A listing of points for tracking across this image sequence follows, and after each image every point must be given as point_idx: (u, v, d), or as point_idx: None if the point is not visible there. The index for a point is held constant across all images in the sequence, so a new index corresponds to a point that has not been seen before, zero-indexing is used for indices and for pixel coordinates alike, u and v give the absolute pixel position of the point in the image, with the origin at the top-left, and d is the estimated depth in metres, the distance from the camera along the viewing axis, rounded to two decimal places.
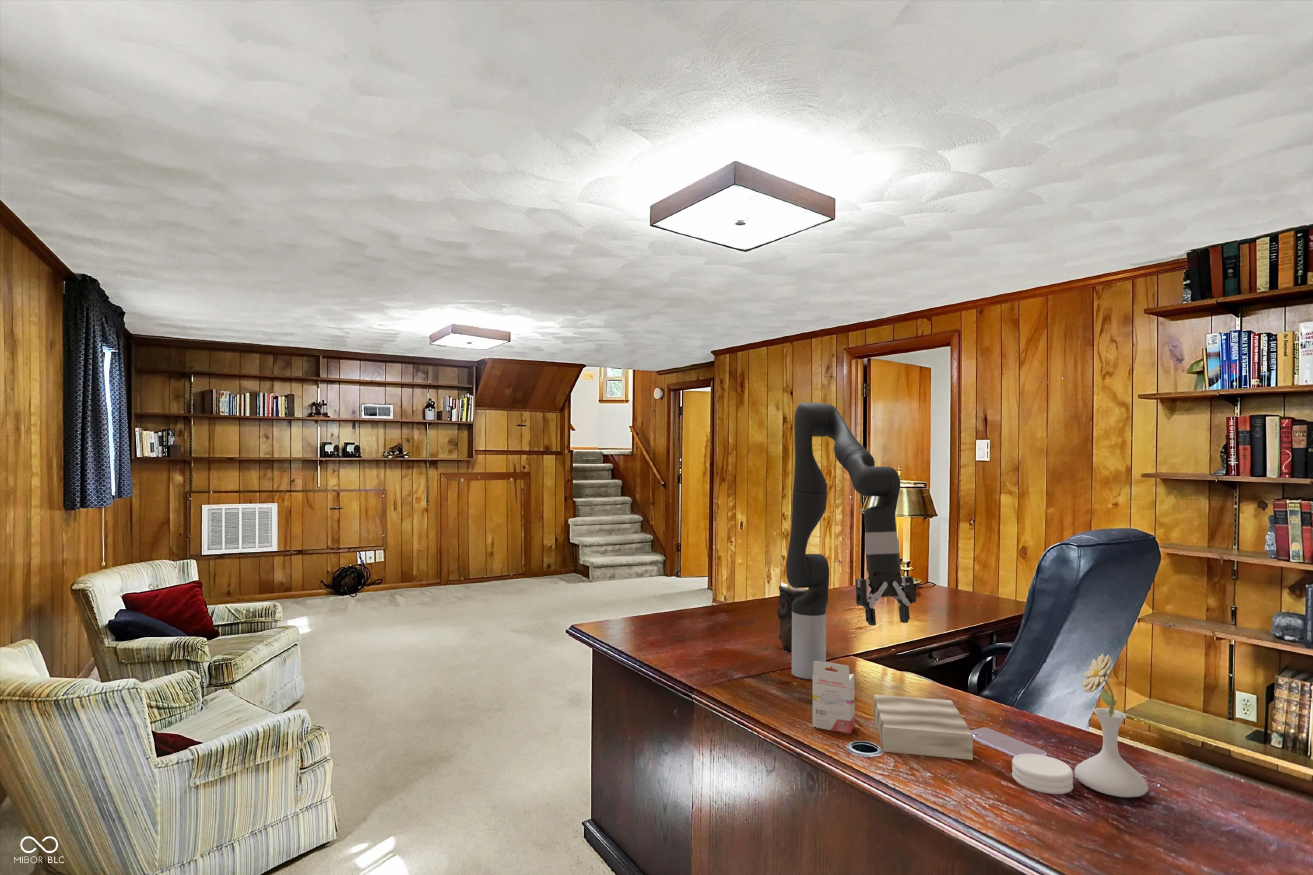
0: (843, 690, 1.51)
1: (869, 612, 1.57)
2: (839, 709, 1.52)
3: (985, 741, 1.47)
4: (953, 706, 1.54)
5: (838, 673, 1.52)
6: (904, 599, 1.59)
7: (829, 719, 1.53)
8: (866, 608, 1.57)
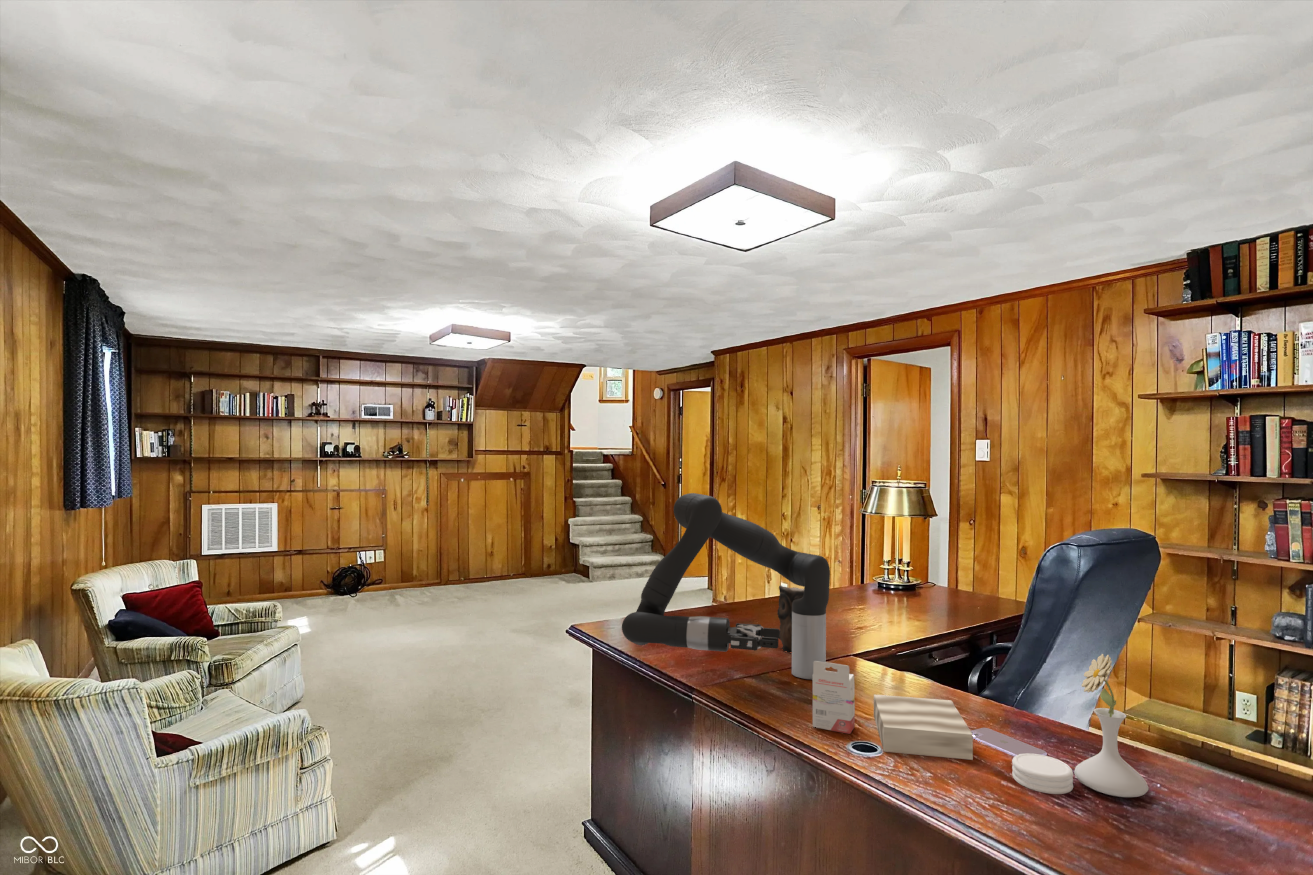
0: (843, 690, 1.51)
1: None
2: (839, 709, 1.52)
3: (985, 741, 1.46)
4: (953, 706, 1.54)
5: (838, 673, 1.52)
6: None
7: (829, 719, 1.53)
8: None
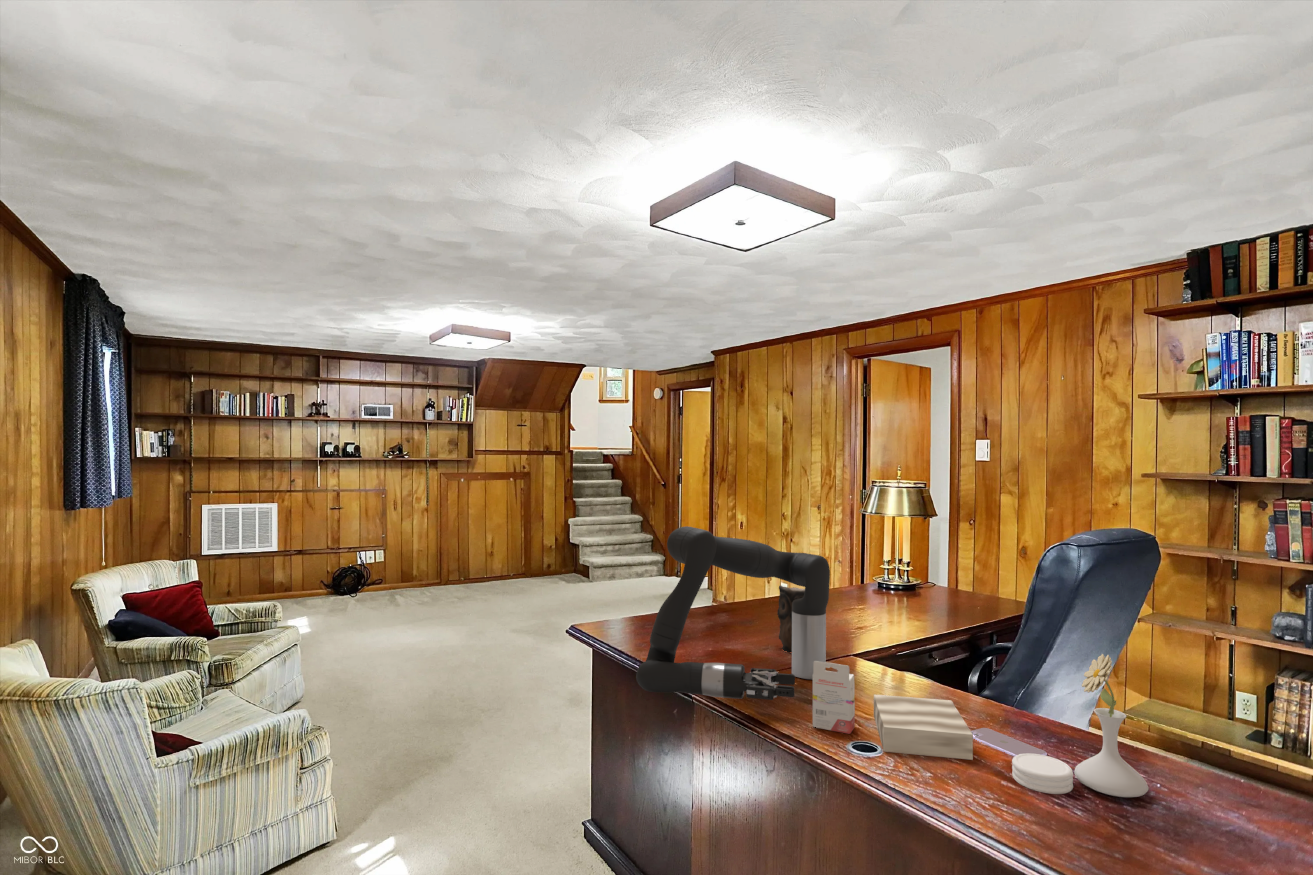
0: (843, 690, 1.51)
1: None
2: (839, 709, 1.52)
3: (986, 741, 1.46)
4: (953, 706, 1.54)
5: (838, 673, 1.52)
6: None
7: (829, 719, 1.53)
8: None
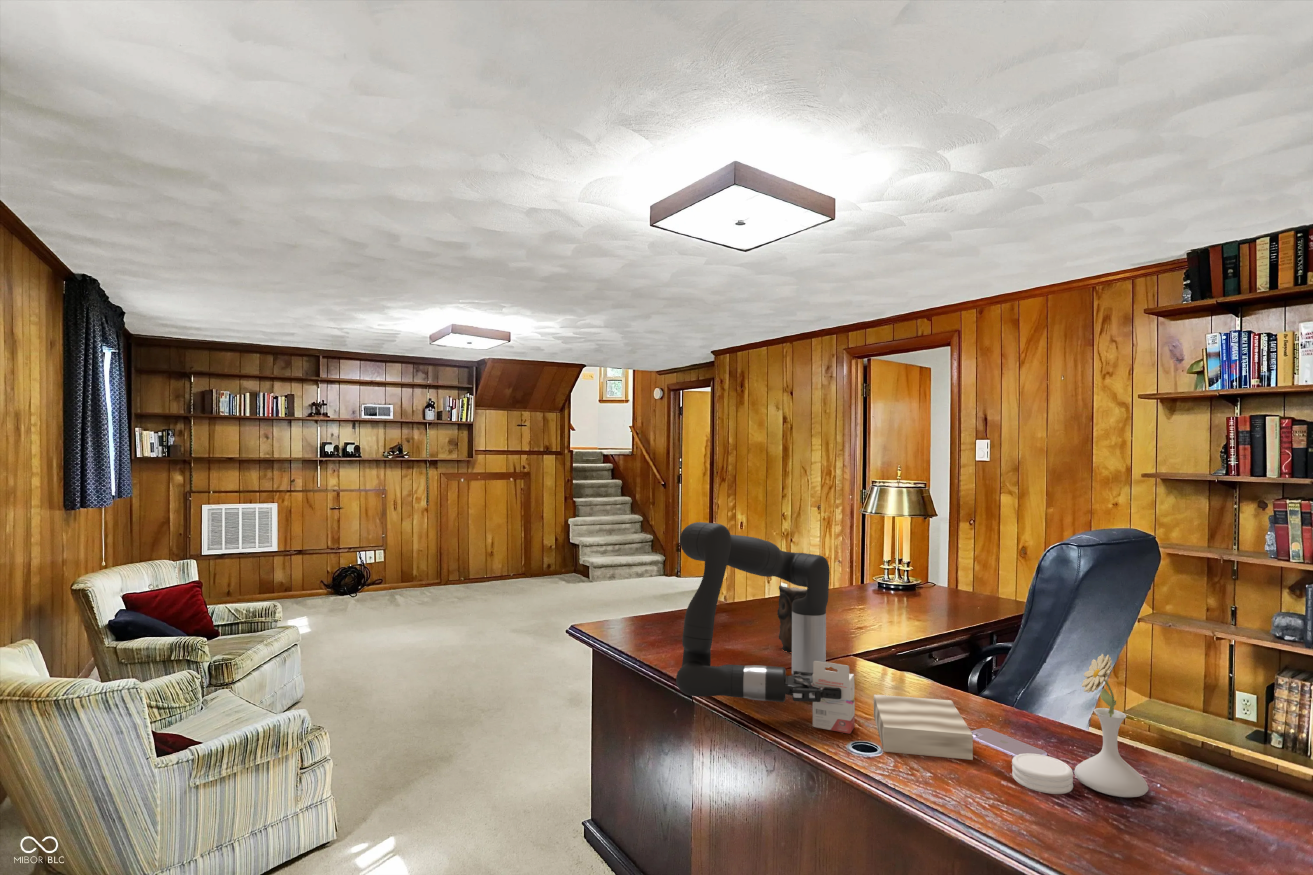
0: (843, 690, 1.51)
1: None
2: (839, 709, 1.52)
3: (986, 741, 1.46)
4: (953, 706, 1.54)
5: (838, 673, 1.52)
6: None
7: (829, 719, 1.53)
8: None
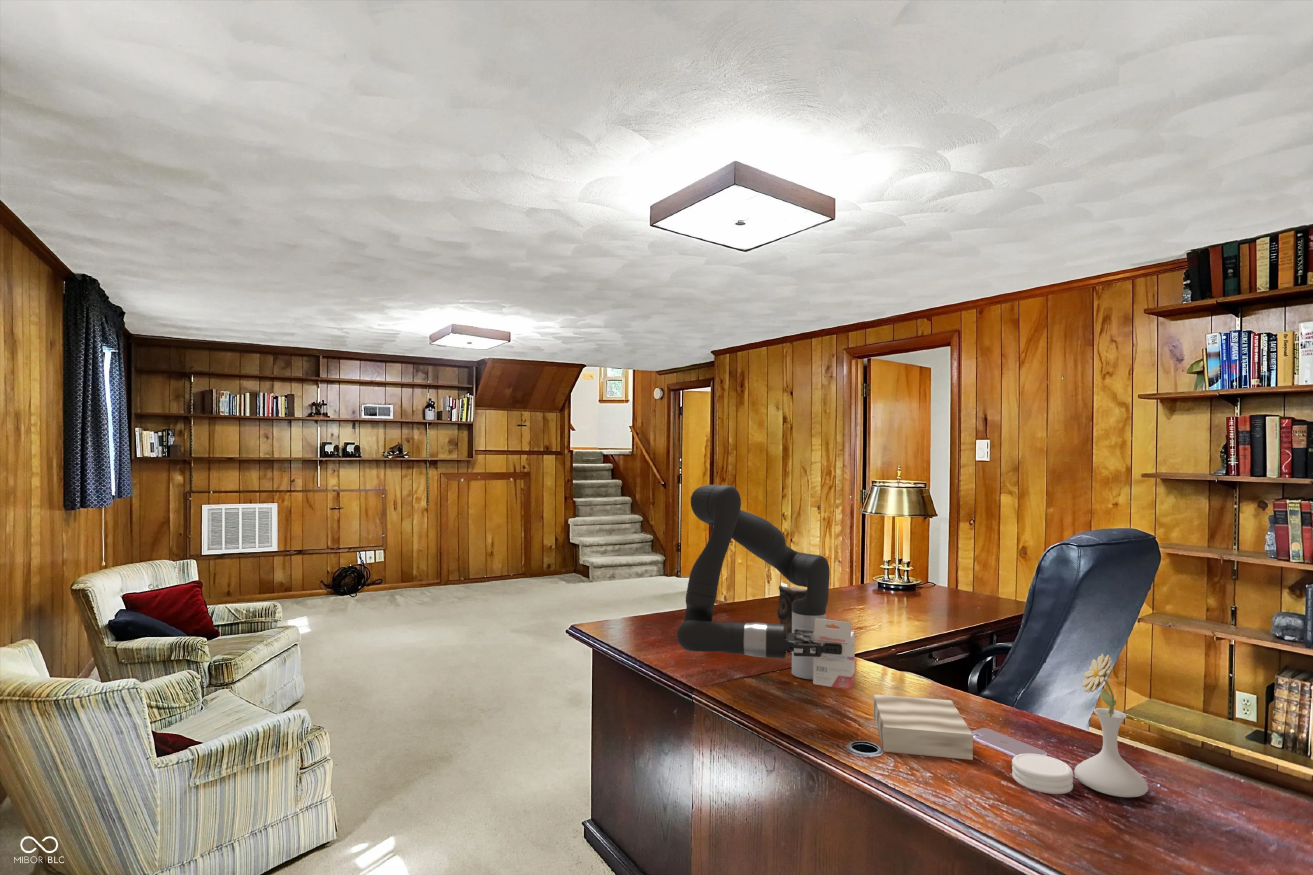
0: (844, 647, 1.52)
1: None
2: (840, 666, 1.52)
3: (986, 741, 1.46)
4: (953, 706, 1.54)
5: (839, 630, 1.53)
6: None
7: (830, 676, 1.53)
8: None
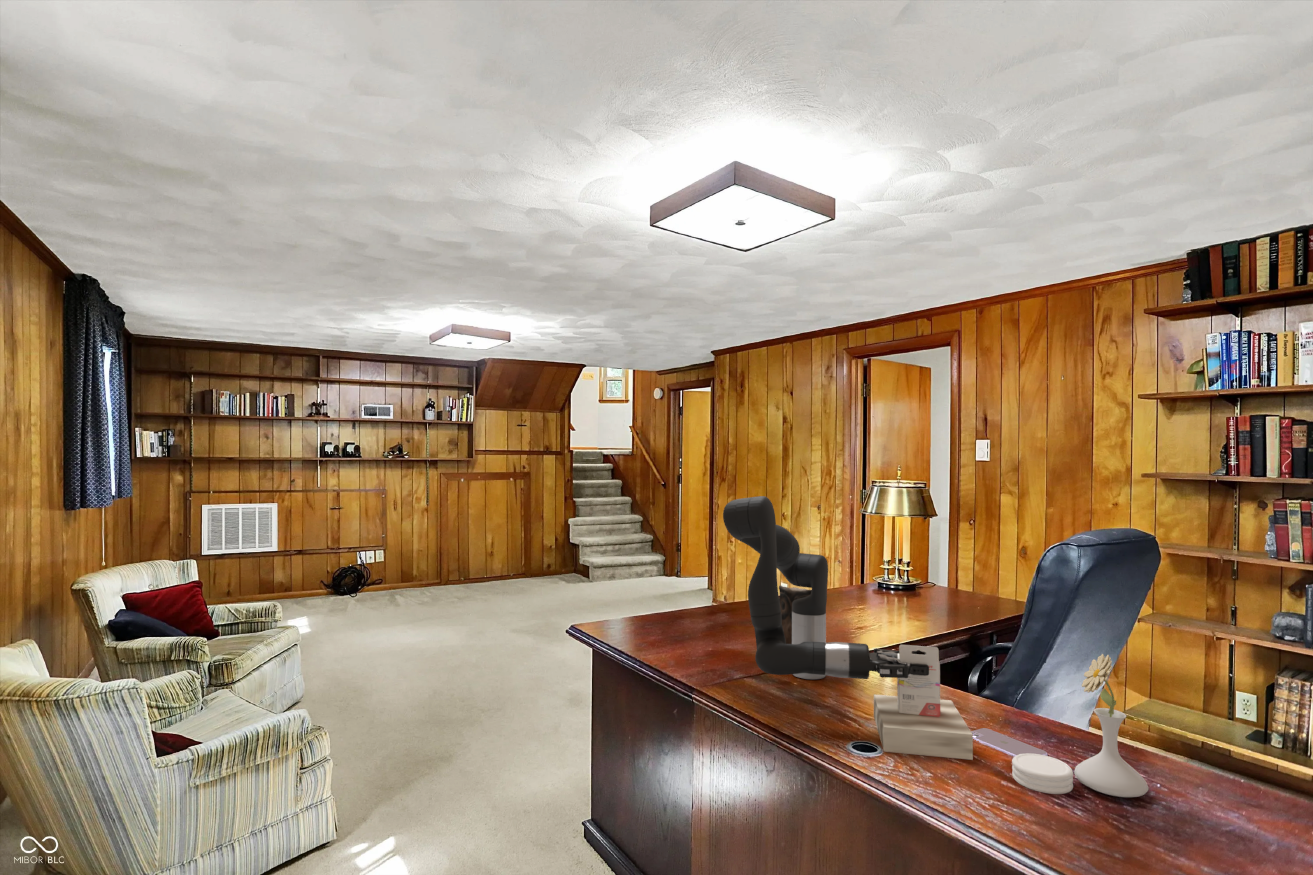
0: (932, 673, 1.48)
1: None
2: (928, 693, 1.48)
3: (986, 742, 1.46)
4: (953, 706, 1.54)
5: (926, 656, 1.49)
6: None
7: (917, 704, 1.49)
8: None
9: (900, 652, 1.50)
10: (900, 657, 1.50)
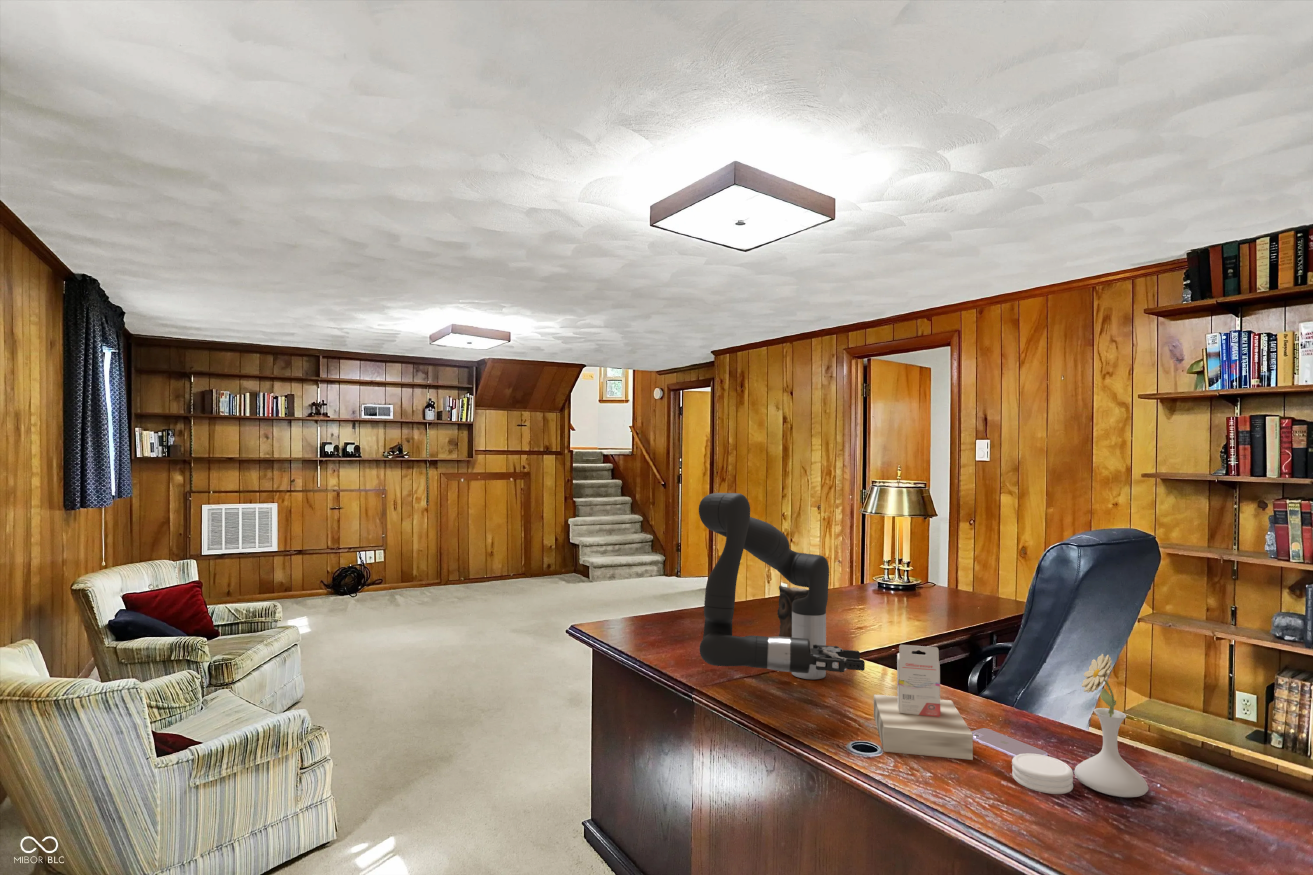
0: (932, 673, 1.48)
1: None
2: (928, 693, 1.48)
3: (986, 742, 1.46)
4: (953, 706, 1.54)
5: (926, 656, 1.49)
6: None
7: (917, 704, 1.49)
8: None
9: (900, 652, 1.50)
10: (900, 657, 1.50)
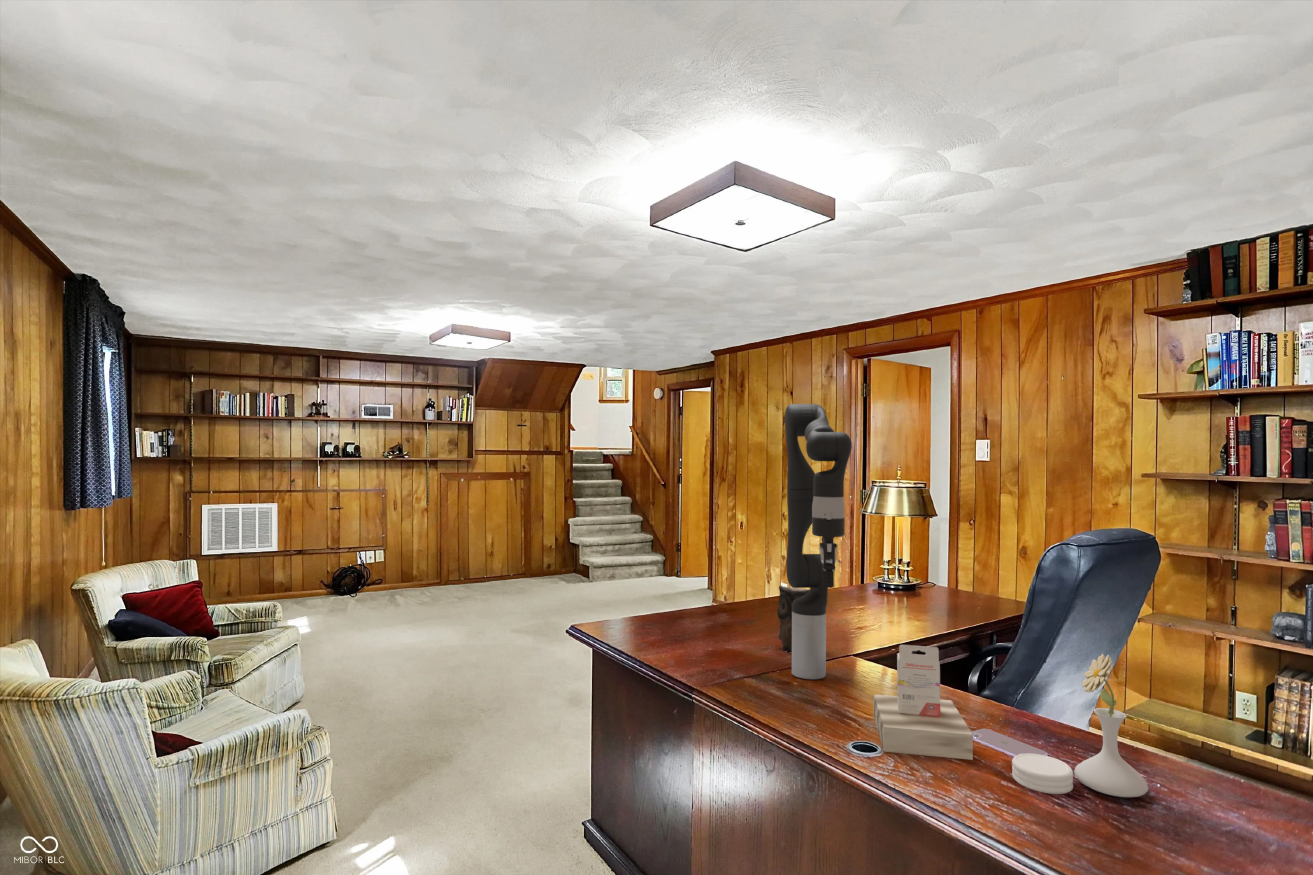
0: (932, 673, 1.48)
1: (831, 575, 1.59)
2: (928, 693, 1.48)
3: (986, 742, 1.46)
4: (953, 706, 1.54)
5: (926, 656, 1.49)
6: None
7: (917, 704, 1.49)
8: (829, 571, 1.59)
9: (900, 652, 1.50)
10: (900, 657, 1.50)
